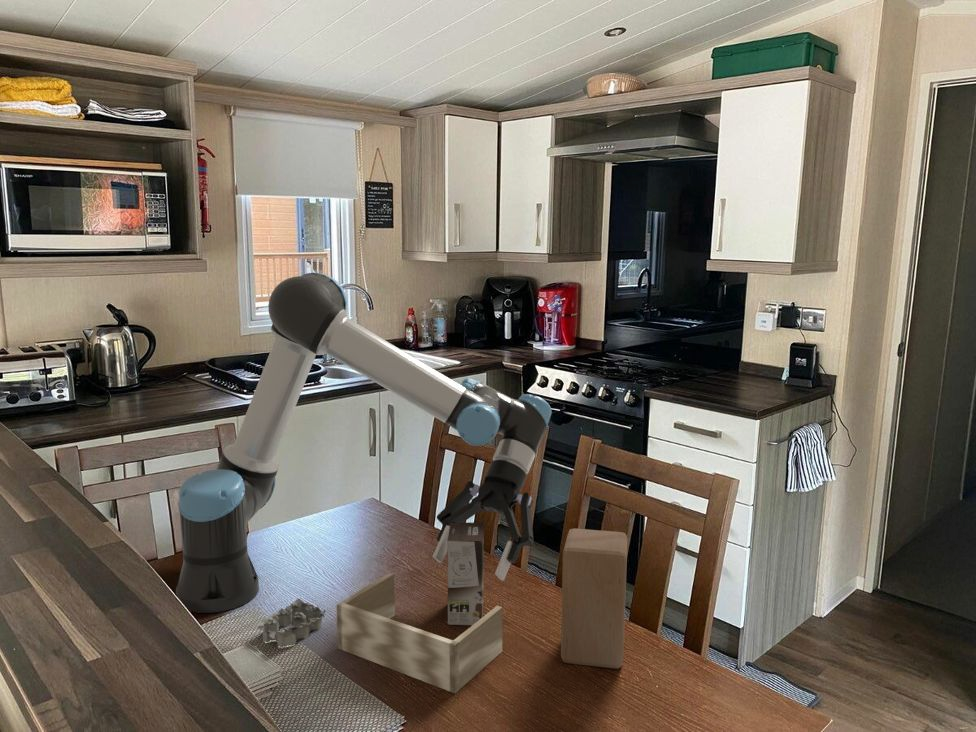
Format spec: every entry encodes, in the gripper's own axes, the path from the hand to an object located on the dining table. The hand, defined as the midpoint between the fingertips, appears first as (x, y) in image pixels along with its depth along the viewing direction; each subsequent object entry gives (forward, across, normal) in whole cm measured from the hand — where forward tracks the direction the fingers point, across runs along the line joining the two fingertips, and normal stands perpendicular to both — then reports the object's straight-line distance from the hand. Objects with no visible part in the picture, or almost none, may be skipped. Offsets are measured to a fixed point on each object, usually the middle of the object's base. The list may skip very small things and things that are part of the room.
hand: (467, 568), depth 138 cm
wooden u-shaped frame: (+16, 0, +4) cm, 17 cm away
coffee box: (+6, 0, -7) cm, 9 cm away
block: (+6, -25, -7) cm, 26 cm away
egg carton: (+22, +23, +9) cm, 33 cm away
